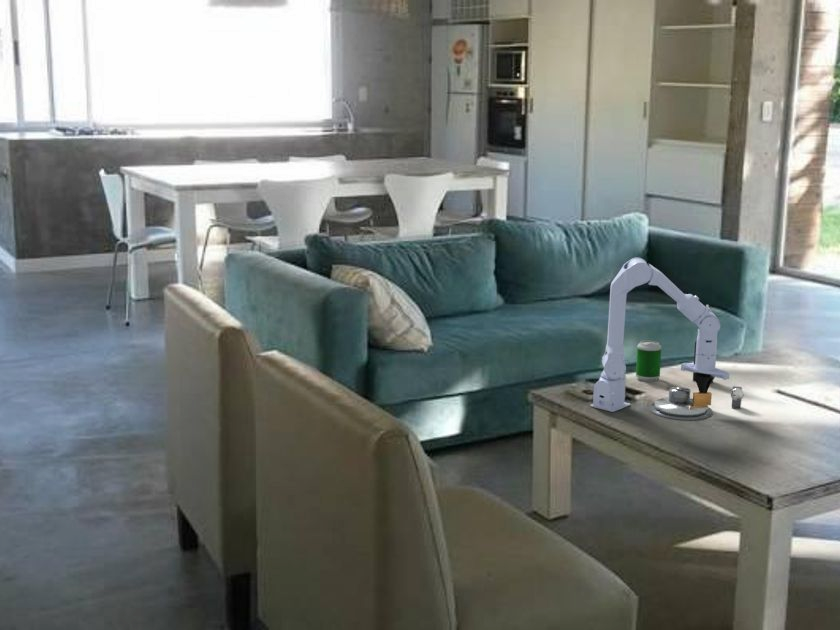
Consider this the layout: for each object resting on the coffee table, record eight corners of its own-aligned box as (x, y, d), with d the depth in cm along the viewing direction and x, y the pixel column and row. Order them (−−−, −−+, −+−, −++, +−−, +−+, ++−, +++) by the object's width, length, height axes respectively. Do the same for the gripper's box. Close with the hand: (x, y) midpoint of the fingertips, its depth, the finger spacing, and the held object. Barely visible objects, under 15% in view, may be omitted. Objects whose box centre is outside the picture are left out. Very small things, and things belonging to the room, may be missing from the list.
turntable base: (692, 424, 294) (692, 423, 294) (637, 410, 306) (637, 409, 306) (724, 410, 306) (724, 409, 306) (670, 397, 319) (670, 396, 318)
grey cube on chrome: (742, 409, 307) (744, 389, 306) (729, 408, 308) (731, 388, 306) (742, 406, 310) (743, 386, 309) (729, 405, 311) (730, 385, 309)
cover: (671, 404, 306) (672, 390, 305) (666, 398, 312) (667, 385, 311) (692, 404, 306) (692, 390, 305) (686, 398, 312) (687, 385, 311)
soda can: (661, 382, 335) (663, 345, 332) (637, 382, 335) (639, 345, 332) (657, 376, 342) (658, 340, 340) (633, 375, 342) (635, 339, 340)
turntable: (661, 416, 299) (662, 400, 298) (649, 401, 313) (650, 385, 312) (717, 416, 299) (718, 400, 298) (702, 400, 313) (703, 385, 312)
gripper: (735, 355, 303) (732, 400, 306) (690, 346, 313) (687, 390, 316) (723, 360, 298) (720, 406, 301) (678, 350, 308) (675, 395, 311)
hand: (702, 398), depth 308 cm, fingers closed
